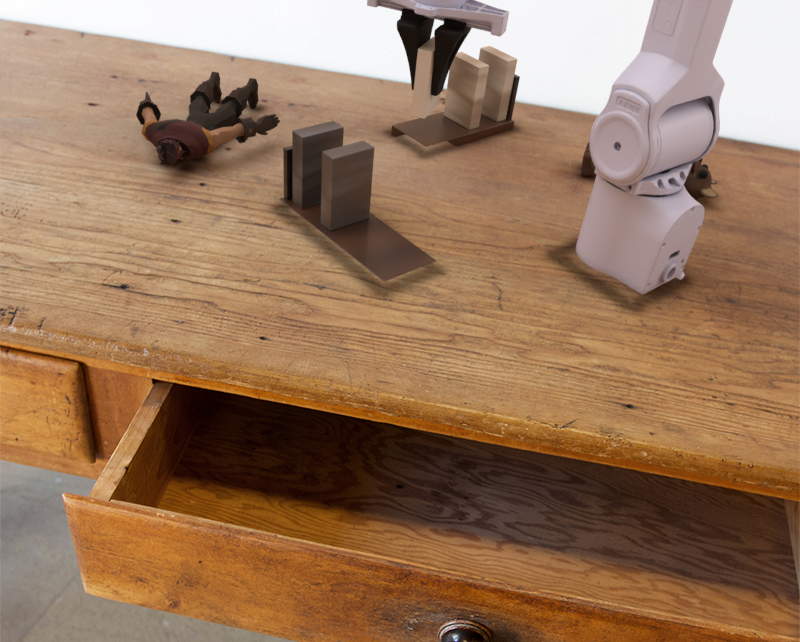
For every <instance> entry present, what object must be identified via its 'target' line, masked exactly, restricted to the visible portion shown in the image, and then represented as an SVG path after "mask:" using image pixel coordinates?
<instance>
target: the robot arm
mask: <svg viewBox="0 0 800 642" xmlns="http://www.w3.org/2000/svg"><path fill="white" fill-rule="evenodd" d="M733 2H734V0H653V1H652V5H651V9H650V11H649V12H650V13H649V16H648V20H647V24H646V27H645V31H644V35H643V39H642V43H641V46H640V50H639V52H638V54H637V55H636V56H635V58H634V59H633V60H632V61H631V62H630V63H629V64H628V66H626V67H625V69H624V70H623V71H622V72H621V73H620V75H619V76H618V77H617V78H616V79H615V81H614V82H613V83H612V86H611V90H610V93H609V97H608V99H607V102H606V104H605V106H604V107H603V109H602V110H601V112H600V113H599V114H598V115H597V116H596V118H595V120H594V122H593V124H592V127H591V128H590V133H589V141H588V142H589V147H590V154H591V158H592V161H593V163H594V166H595V167H596V168H595V172H594V173H595V174H596V175H595V178H594V179H595V180H594V182H593V187H592V190H591V192H590V196H589V200H588V204H587V207H586V210H585V213H584V217H583V220H582V224H581V226H580V231H579V234H578V238H577V240H576V244H575V252H576V255H577V257H578V258H579V259H580V260H581V261H582V262H583V264H585V265H587V266H588V267H590V268H591V269H593V270H595V271H597V272H600V273H602V274H605V275H608V276H609V277H611V278H614V279H616V280H617V281H619V282H621V283H622V284H624V285H626V286H627V287H628V288H630V289H632V290H633V291H635V292H637V293H639V294H641V295H645V294H647V293H649V292H651V291H653V290H655V289H657V288H658V287H661V286H662V285H664V284H666V283H668V282H670V281H672V280H674V279H678V280H680V281H682V280H683V279H684V278H685V275H686V273H685V272H684V269H685V267H686V264H687V262H688V260H689V258H690V254H691V252H692V250H693V249H694V245H695V243H696V241H697V238H698V235H699V233H700V231H701V228H702V226H703V223H704V220H705V219H704V218H705V213H706V212H705V207H704V206H703V204H701V203H700V202H699V201H698V200H696V198H692V197H691V196H690V194H689V193H688V192H687V190H686V188H685V186H684V183H685V181H686V178H687V176H688V174H689V171H690V169H691V166H692V164H693V163H692V162H696V161H698V160H700V159H702V158H703V159H704V158H705V157H706V156H707V155H708V154H709V153H710V152H711V151H712V150H713V148H714V147H715V145H716V143H717V140H718V137H719V134H720V128H721V118H720V101H721V98H722V95H723V94H722V93H723V91H724V88H725V79H724V78H723V76H722V75H721V74H720V73H719V71H718V69H717V68H716V66H715V64H714V59H715V57H716V55H717V54H716V53H717V50H718V48H719V44H720V41H721V39H722V35H723V33H724V30H725V26H726V23H727V20H728V17H729V15H730V11H731V8H732V5H733ZM366 6H368V7H371V8H378V7H381V8H386V9H390V10H395V11H398V12H401V15H400V18H399V19H398V20H397V21H396V30H397V33H398V35H399V37H400V39H401V42H402V45H403V48H404V51H405V55H406V59H407V63H408V67H409V68H408V69H409V75H410V84H411V90H412V91H414V82H415V73H416V63H417V54H418V49H419V48H420V47H421V46H422V45H423V44H425V43H426V42H427V41H428V40H430V39H431V38H432V32H433V27H434V23H435V20H437V21H441V22H443V24H440V25H439V26H438V27H436V28H435V30H434V32H433V33H434V35H433V37H435V59H434V70H433V76H432V82H431V95H434V96H437V95H439V94H440V95H441V93H442V92H443V91H444V86H445V84H446V80H447V77H448V75H449V69H450V67H451V64H452V62H453V60H454V58H455V56H456V54H457V53H458V52H459V50H460V48H461V46H462V45H463V43H464V42H465V40H466V39H467V37H468V35H469V34H470V32H471V30H472V29H475V30H479V31H484V32H489V33H490V35H491V36H495V37H501V36H503V35H504V34H505V33H506V31H507V27H508V21H509V15H510V11H509V10H506V9H502V8H498V7H495V6H492V5H489V4H486V3H485V2H482V1H478V0H366ZM703 159H702V160H703Z"/></svg>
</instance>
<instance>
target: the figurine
mask: <svg viewBox="0 0 800 642" xmlns="http://www.w3.org/2000/svg"><path fill="white" fill-rule="evenodd" d="M222 95H223V92H222V88H221V77H220V72H219V71H218V72H217V71H211V73H210V76H209V78H208V79H207V80H205V81H204V80H203V81H202V82H201V83H200V84H199V85H198V86H197V87H196V88H195V90H194V91H193V93H191V94H190V96H189V100H190V104H188V116H187V117H186V120H184V119H180V118H179V119H178V118H172V119H164V120H161V116H162V113H161V110H160V109H159V107H158V105H157V104H156V103H154V102H153V101H152V99H151V96H150V94H149V92H148V91H145V97H144V99H143V100H141V101H140V102H139V105H138V106H137V111H136V114H135V116H136V118H137V120H138V121H139V124H140V125H142V128H141V134H142V136H143V137H144V138H145V140H146V141H148V142H149V143H151V145H153V146H154V147H155V150H156V152H157V158H158V160H159V161H160V163H159V165H163V166H167V165H169V166H170V165H171V166H173V165H176V163H177V162H178V160H179V159H180V161H183V160H186V161H190V160H196V159H200V158H201V157H204V156H206V155H211V154H212V153H213V150H214V149H216V148H218V147H219V146H220V145H224V144H227V143H229V142H232V141H233V140H236V141H237V142H238V143H239V144H244V143H246V142H247V140H248V139H249V138H252V137H256V135H257V134H258V135H261V136H267V135H269V131H272V130H274V129H275V128H277V127H278V125H279V123H280V122H281V121H280V119H279V116H277V114H276V113H272V114H266V115H265V114H264V115H261V116H260V117H258V118H257V119H256V121H255V120H254V119H253V118H252V117H251V116H249V117H245V118H243V117H241V116H242V115H243V112H244V110H245V109H246V108H247V107H248V106H249V108H250V109H256V108H257V105H258V103H259V101H260V100H259V84H258V80H257V78H255V77H254V78H253V77H249V78H248V82H247V83H246V85H244V86H241V87H236V88H235V89H233V90H231V91H230V93H229V94H228V95H226V96H225V97H224V98H223V99H222ZM221 99H222V100H221ZM214 102H217V103H220V104H221V105H220V106H219V107H218V108H217V109H216V110H215V111H214V112H210V110H211V109H212V108H211V107H212V106H211V105H212V103H214ZM247 103H248V104H247Z"/></svg>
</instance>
